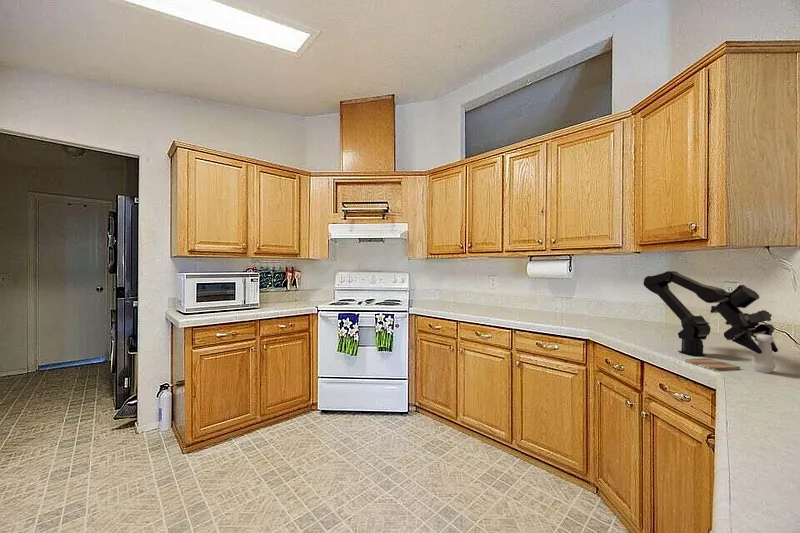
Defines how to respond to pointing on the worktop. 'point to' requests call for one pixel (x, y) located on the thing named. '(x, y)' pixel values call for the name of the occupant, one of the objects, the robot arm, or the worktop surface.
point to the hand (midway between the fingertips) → (769, 352)
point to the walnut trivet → (713, 364)
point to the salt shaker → (764, 355)
